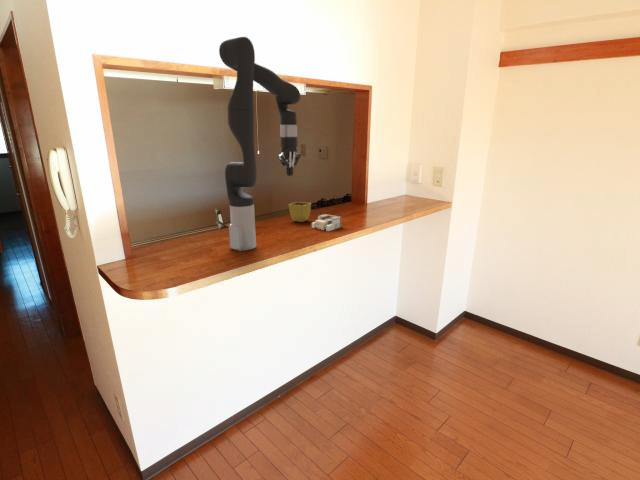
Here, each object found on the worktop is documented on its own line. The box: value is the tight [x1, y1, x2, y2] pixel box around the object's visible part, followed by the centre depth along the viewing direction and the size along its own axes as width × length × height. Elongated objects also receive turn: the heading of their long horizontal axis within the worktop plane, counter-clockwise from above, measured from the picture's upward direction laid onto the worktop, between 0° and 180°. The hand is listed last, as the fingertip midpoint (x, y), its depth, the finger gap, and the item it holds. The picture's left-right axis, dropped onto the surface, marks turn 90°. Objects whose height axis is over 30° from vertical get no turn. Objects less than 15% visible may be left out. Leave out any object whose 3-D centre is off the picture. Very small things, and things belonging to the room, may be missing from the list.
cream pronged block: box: [314, 218, 332, 231], centre depth 174 cm, size 8×5×4 cm, turn 136°
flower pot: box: [288, 201, 312, 223], centre depth 187 cm, size 9×9×9 cm
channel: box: [311, 213, 343, 232], centre depth 175 cm, size 10×10×5 cm
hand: (289, 175), depth 165 cm, fingers closed
